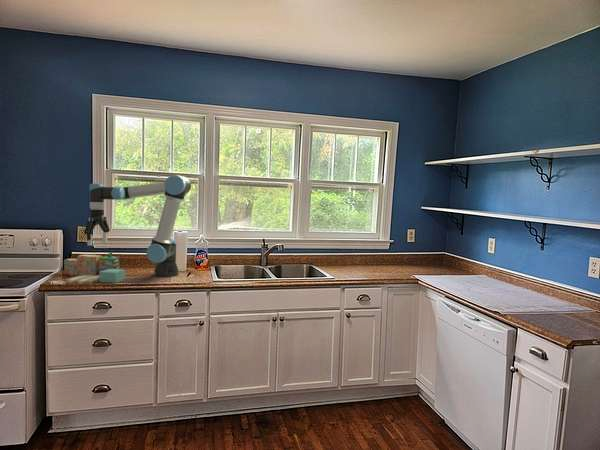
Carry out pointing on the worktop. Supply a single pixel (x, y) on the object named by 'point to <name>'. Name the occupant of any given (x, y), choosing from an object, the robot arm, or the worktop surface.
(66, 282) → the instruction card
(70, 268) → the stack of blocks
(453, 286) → the worktop surface
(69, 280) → the build plate
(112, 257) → the chalk box
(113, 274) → the brick
